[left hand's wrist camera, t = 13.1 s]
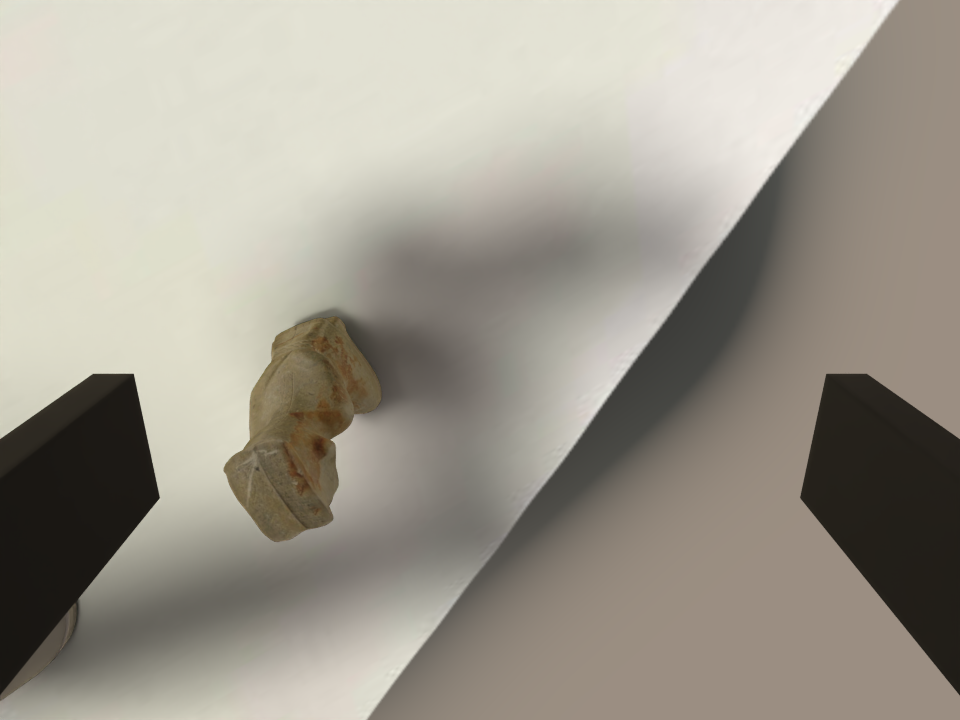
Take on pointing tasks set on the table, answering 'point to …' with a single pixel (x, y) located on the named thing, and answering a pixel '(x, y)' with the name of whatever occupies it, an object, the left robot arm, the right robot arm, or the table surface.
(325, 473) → the sculpture
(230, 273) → the table surface
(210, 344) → the table surface
